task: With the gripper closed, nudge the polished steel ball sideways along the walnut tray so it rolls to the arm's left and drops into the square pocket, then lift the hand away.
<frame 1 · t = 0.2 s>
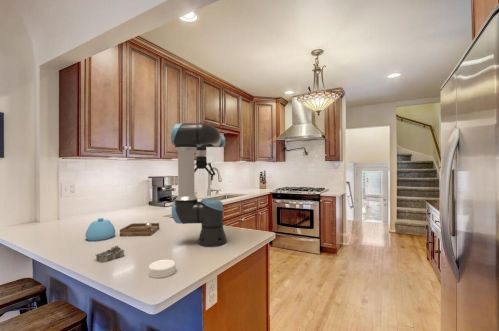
hand: (201, 184, 182), 28 cm above the countertop, tool pointing down, fingers open, 13 cm apart
coaster: (162, 273, 96), on the countertop
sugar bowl: (100, 238, 144), on the countertop
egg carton: (110, 258, 112), on the countertop
ball: (148, 228, 155), point 2 cm above the countertop, touching tray
tray: (140, 232, 155), on the countertop
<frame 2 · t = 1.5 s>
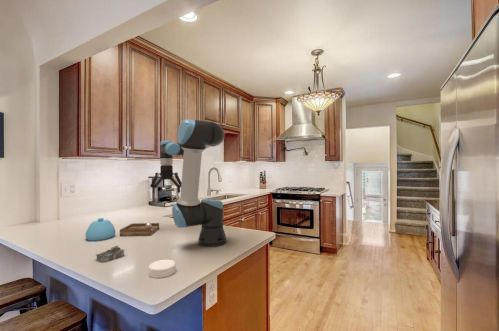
hand: (166, 198, 158), 21 cm above the countertop, tool pointing down, fingers open, 13 cm apart
nothing on the countertop moved.
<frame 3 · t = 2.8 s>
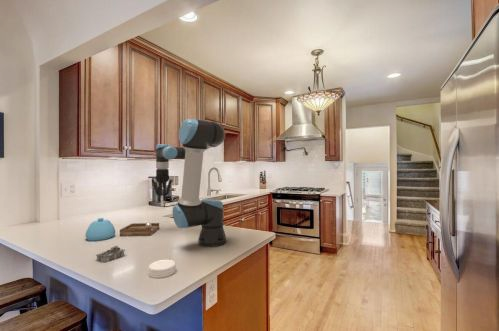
hand: (162, 206, 155), 17 cm above the countertop, tool pointing down, fingers closed
nothing on the countertop moved.
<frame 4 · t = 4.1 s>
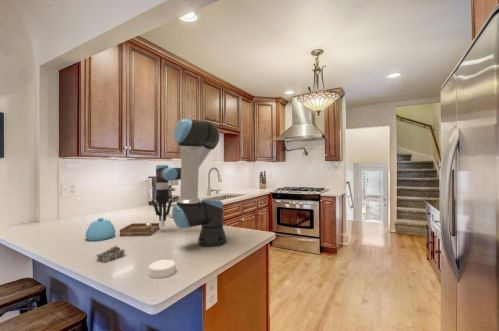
hand: (162, 226, 155), 4 cm above the countertop, tool pointing down, fingers closed
nothing on the countertop moved.
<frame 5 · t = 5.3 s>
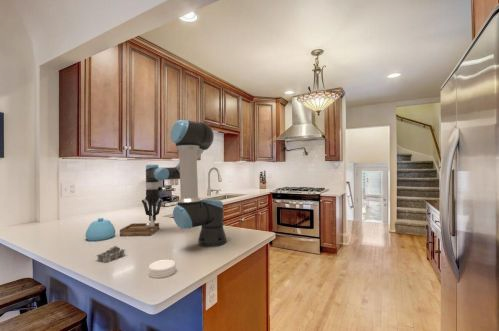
hand: (152, 225, 155), 4 cm above the countertop, tool pointing down, fingers closed
ball: (148, 228, 155), point 3 cm above the countertop, touching gripper
everything else where it was.
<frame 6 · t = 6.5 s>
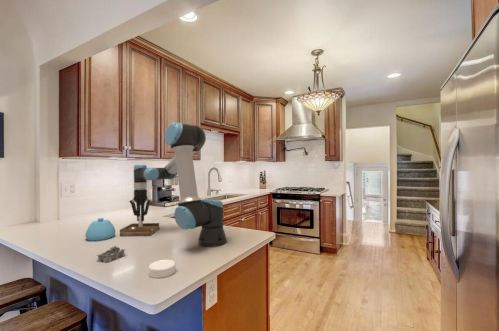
hand: (140, 226, 155), 4 cm above the countertop, tool pointing down, fingers closed
ball: (131, 232, 155), resting in tray, tilted 29°
everything else where it was.
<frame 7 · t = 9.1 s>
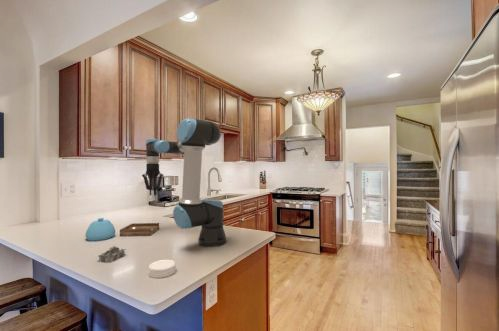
hand: (153, 200, 155), 20 cm above the countertop, tool pointing down, fingers closed
ball: (131, 231, 155), point 1 cm above the countertop, tilted 44°
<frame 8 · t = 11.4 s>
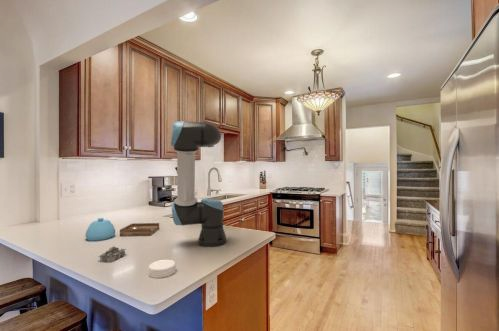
hand: (185, 191, 165), 24 cm above the countertop, tool pointing down, fingers closed
ball: (132, 231, 155), point 1 cm above the countertop, tilted 58°
at the end: ball 1.3 cm from the target spot on the tray, point 0.8 cm above the tray's base; the gripper is holding nothing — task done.
